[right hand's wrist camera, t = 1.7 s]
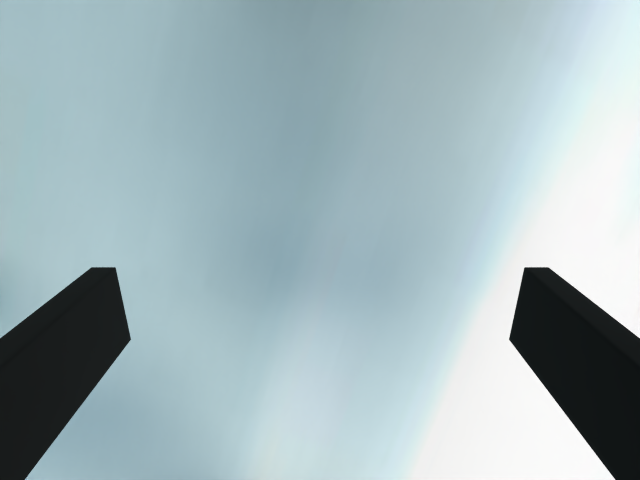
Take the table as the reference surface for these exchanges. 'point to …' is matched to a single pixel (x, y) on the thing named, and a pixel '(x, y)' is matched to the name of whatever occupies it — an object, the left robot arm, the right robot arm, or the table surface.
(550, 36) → the table surface
